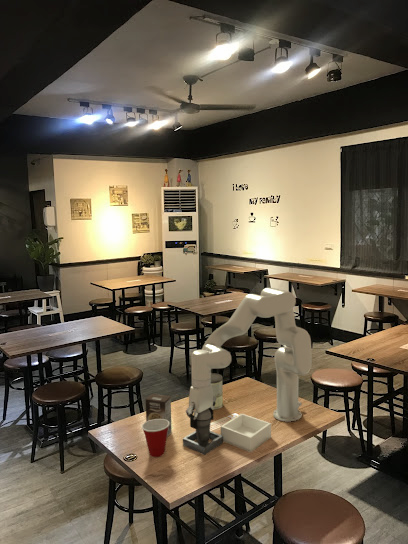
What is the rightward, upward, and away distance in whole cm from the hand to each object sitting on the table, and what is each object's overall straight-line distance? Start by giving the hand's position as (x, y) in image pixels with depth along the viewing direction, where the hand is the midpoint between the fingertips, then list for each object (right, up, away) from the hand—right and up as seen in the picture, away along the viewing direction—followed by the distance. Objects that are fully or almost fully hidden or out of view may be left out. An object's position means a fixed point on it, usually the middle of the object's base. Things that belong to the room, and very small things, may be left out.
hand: (202, 423), depth 173 cm
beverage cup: (0, -9, +1) cm, 9 cm away
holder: (0, -9, +1) cm, 9 cm away
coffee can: (+5, -4, +37) cm, 37 cm away
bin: (+18, -8, +5) cm, 20 cm away
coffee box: (-18, -8, +11) cm, 22 cm away
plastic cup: (-18, -10, -4) cm, 21 cm away
